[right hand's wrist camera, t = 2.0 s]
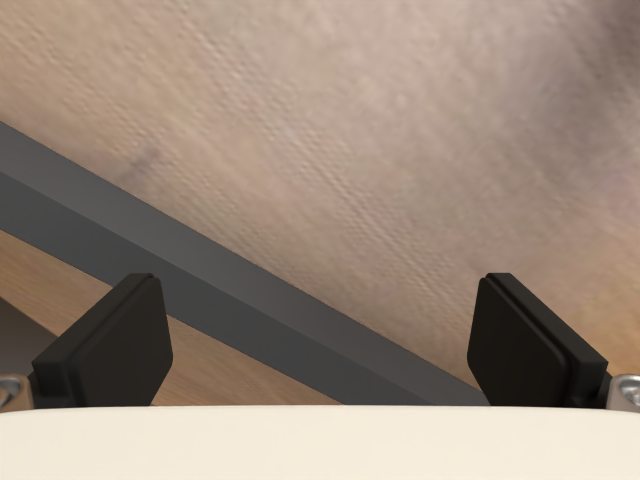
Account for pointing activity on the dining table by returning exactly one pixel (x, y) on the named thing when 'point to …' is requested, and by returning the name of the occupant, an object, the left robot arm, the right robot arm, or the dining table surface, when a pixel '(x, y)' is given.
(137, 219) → the post
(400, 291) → the dining table surface
